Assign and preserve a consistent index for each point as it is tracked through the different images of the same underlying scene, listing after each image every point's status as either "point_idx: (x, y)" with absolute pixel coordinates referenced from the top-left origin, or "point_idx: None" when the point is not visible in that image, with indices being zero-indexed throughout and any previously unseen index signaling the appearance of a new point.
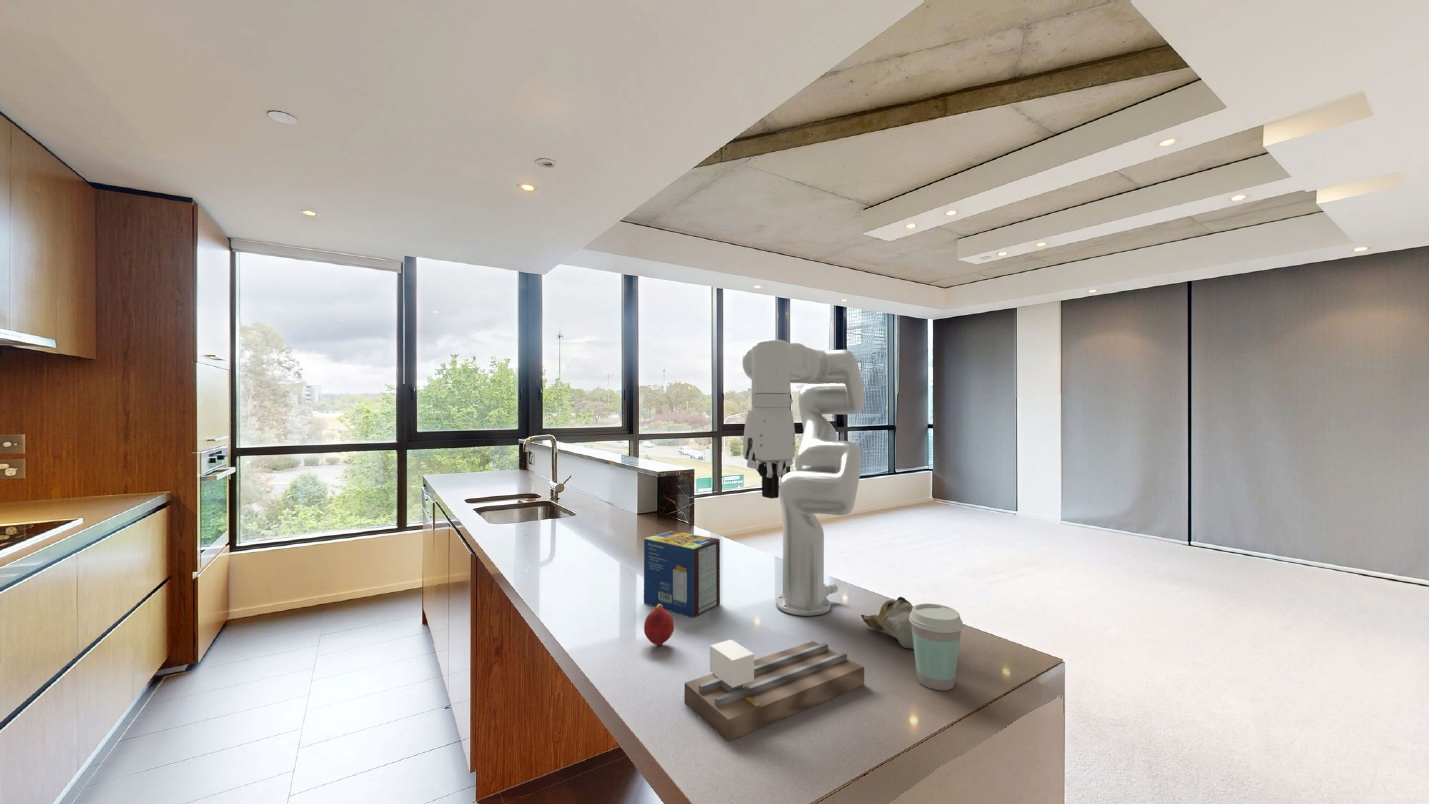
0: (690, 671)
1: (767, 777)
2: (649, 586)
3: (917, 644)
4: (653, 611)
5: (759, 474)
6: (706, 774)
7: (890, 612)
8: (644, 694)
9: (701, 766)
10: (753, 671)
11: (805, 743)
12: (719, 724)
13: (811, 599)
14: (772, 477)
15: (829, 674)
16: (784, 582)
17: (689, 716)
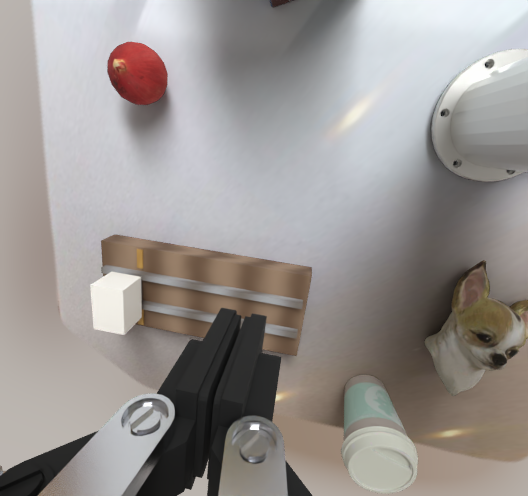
0: (154, 184)
1: (119, 353)
2: None
3: (347, 417)
4: (111, 64)
5: (124, 408)
6: (83, 322)
7: (462, 339)
8: (84, 191)
9: (84, 314)
10: (135, 323)
11: (171, 351)
12: None
13: (479, 163)
14: (191, 472)
15: None
16: (484, 91)
17: None
